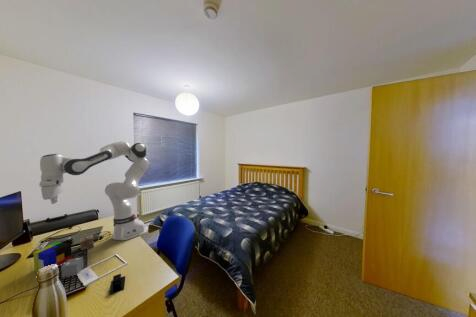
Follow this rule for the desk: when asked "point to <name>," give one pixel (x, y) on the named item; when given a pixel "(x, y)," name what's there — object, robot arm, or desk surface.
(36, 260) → the puzzle toy
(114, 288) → the black irregular block
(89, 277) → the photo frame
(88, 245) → the walnut block
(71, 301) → the desk surface
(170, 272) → the desk surface
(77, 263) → the grey block
